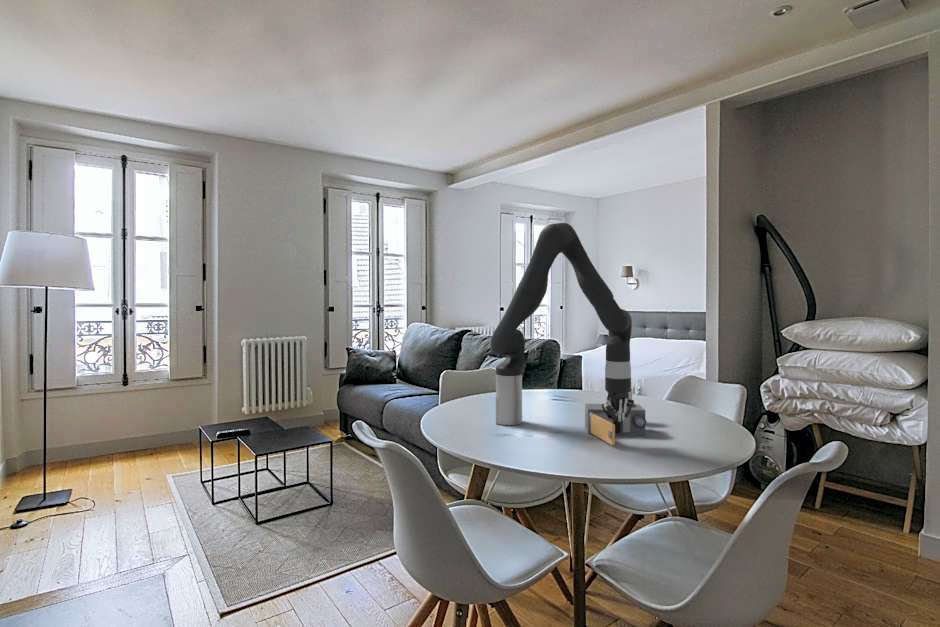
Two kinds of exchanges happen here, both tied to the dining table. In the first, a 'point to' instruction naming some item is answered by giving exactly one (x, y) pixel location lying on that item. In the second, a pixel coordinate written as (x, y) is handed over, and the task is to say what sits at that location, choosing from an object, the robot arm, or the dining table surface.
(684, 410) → the dining table surface
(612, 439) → the door
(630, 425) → the camera body
